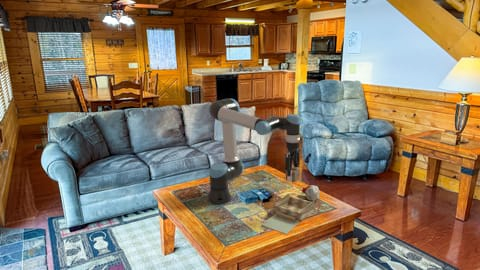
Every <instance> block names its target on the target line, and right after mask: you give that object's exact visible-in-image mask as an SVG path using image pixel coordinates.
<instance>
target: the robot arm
mask: <svg viewBox="0 0 480 270" xmlns="http://www.w3.org/2000/svg"><path fill="white" fill-rule="evenodd" d="M208 113H209V115H210V116H211V118H212V119H214V120H215V121H219V122H220V123H221V128H222V140H223V153H224V158H223V159H222V162H219V163H214V164H212V165H211V166H210V168H209V172H208V173H209V185H210V186H209V187H210V189H209V191H208V195H207V201H208V202H209V204H210V203H211V204H213V205H224V204H227V203H229V202H231V200H232V195H231V192H230V191H229V189H230V188H229V182H230V181H232V180H234V179H236V178H239V177H240V176H241V175H242V174H243V173H244V170H245V165H244V163H243V161H242V160H241V159H240V158H241V157H239V156H238V146H237V133H236V125H237V126H238V127H239V126H240V127H243V128H247V129H249V130H252V131H255V132H256V133H257V134H258V135H260V136H265V135H268V134H270V133H273V132H275V131H285V133H286V135H285V137H286V138H285V141H286V142H285V147H286V149H287V153H285V154H284V156H285V160H284V161H285V162H284V163H285V164H284V166H285V167H284V170H285V171H286V170H287V182H290V181H291V182H292V171H291V169H292V168H294V169H299V168H300V165H301V164H300V163H301V162H300V158H301V156H300V152H301V149H300V138H301V137H300V129H301V128H300V124H301V121H300V119H301V118H300V115H299V114H297V113H296V114H295V113H294V114H293V113H289V114H286V117H283V116H276V115H274V116H272V115H271V116H268V117H267V119H263V118H260V117H257V116H254V115H250V114H247V113H243V112H241V111H240V104H239V103H238V101H237V100H235V99H234V98H223V99H219V100H215V101H213V102H212V103H211V104H210V105H209V107H208ZM292 183H293V182H292Z"/></svg>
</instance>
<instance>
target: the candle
mask: <svg viewBox="0 0 480 270" xmlns="http://www.w3.org/2000/svg"><path fill="white" fill-rule="evenodd" d="M301 193H303V194H304V196H306V199H307V201H308V200H309V201H311V202H313V201H316V200H319V198H320V189H319V187H318V186H317V185H314V184H311V185H307V186H306V187H302V189H301Z"/></svg>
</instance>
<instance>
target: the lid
mask: <svg viewBox="0 0 480 270" xmlns="http://www.w3.org/2000/svg"><path fill="white" fill-rule="evenodd" d="M300 223H301V221H297V220H296V218H295V217H292V216H289V215H286V214H283V213H280V212H276V213H274V214H273V215H272V216H271V217H269V218H268V219H266V220H265V221H264V222H263V223H262V224H261V226H263V227H265V228H268V229H271V230H274V231H277V232H278V233H279V232H280V233H281V234H285V235H288V233H290V232H291V231H292V230H293V229H294V228H296V226H297V225H298V224H300Z"/></svg>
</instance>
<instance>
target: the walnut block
mask: <svg viewBox="0 0 480 270" xmlns="http://www.w3.org/2000/svg"><path fill="white" fill-rule="evenodd" d="M291 171H292V183H296V182H298V181H300V180H301V179H300V178H301V173H300V171H301V170H300V169H299V168H298V169H294V168H293V167H292V169H291ZM285 181H287V170H285ZM287 182H288V181H287ZM289 182H291V181H289Z"/></svg>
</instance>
